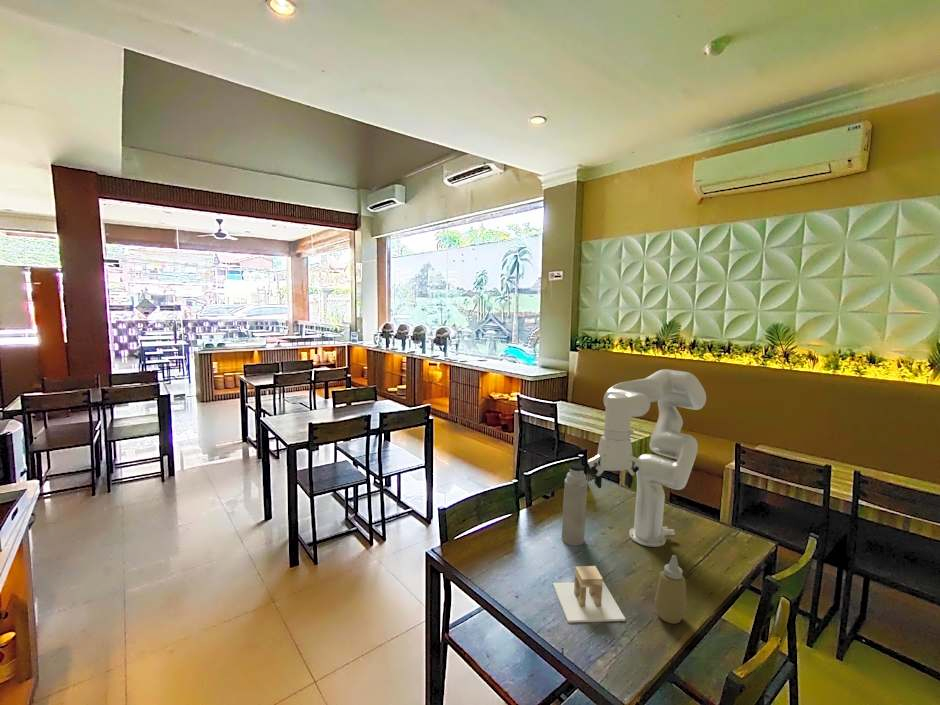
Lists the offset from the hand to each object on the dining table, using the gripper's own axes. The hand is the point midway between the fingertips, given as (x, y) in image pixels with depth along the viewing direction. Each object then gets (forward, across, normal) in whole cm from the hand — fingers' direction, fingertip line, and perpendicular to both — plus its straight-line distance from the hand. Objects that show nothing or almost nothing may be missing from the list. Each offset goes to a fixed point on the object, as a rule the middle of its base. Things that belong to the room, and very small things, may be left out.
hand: (613, 486), depth 141 cm
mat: (+28, +12, +15) cm, 34 cm away
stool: (+28, +12, +15) cm, 34 cm away
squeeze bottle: (+28, -9, +22) cm, 37 cm away
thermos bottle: (+28, +6, -18) cm, 34 cm away
